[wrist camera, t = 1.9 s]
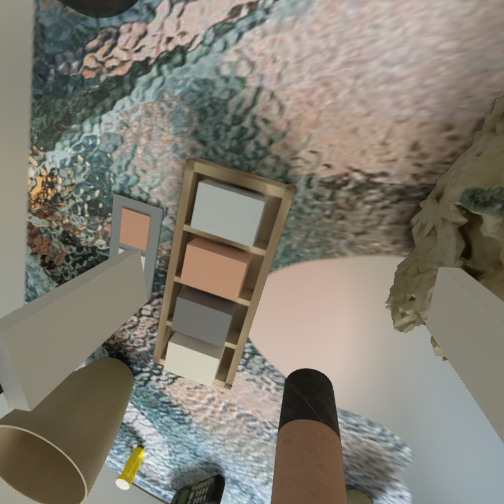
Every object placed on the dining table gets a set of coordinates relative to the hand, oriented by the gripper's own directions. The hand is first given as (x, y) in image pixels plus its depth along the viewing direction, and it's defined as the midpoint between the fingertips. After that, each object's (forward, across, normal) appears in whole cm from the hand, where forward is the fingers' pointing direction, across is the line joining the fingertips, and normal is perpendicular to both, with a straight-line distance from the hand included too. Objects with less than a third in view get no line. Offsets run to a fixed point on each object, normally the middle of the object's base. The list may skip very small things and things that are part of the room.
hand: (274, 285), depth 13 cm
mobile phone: (+23, -17, -57) cm, 64 cm away
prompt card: (+22, -22, -7) cm, 32 cm away
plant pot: (+22, -30, -31) cm, 49 cm away
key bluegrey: (+19, -7, -1) cm, 20 cm away
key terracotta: (+19, -9, -7) cm, 22 cm away
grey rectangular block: (+19, -11, -14) cm, 26 cm away
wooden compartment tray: (+22, -10, -11) cm, 26 cm away
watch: (+23, -28, -50) cm, 62 cm away
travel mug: (+22, +3, -28) cm, 36 cm away
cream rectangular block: (+19, -13, -21) cm, 31 cm away
